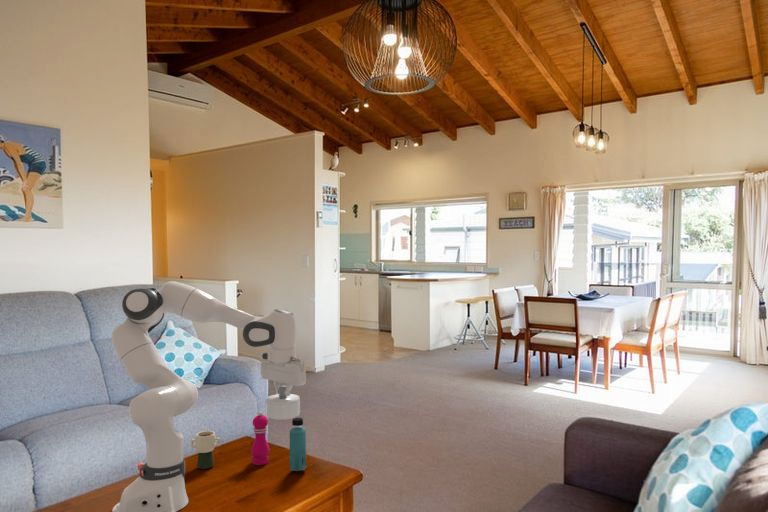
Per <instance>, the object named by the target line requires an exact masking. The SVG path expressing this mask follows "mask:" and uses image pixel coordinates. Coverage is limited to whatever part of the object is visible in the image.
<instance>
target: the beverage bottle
mask: <svg viewBox="0 0 768 512" xmlns="http://www.w3.org/2000/svg"><path fill="white" fill-rule="evenodd" d="M291 424H292V426H293V427H292V428H290V430H289V431H288V432H289V454H288V455H289V469H290V470H291V471H295V472H301V471H304V470H305V469H306V468H307V463H308V461H307V429H306V428H305V427H304V426H303V425H304V419H303V417H294V418H292V421H291Z"/></svg>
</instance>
